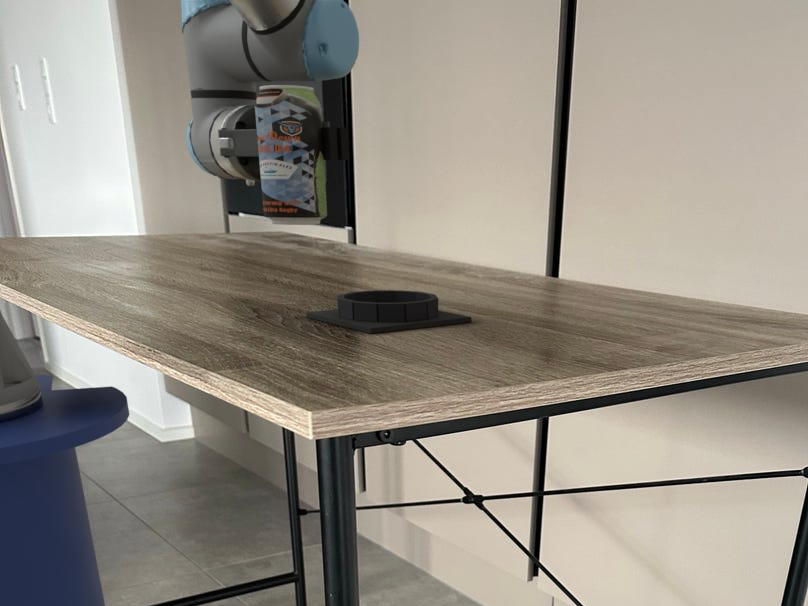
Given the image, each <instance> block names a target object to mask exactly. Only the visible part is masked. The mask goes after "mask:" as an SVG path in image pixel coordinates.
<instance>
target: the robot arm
mask: <svg viewBox="0 0 808 606" xmlns="http://www.w3.org/2000/svg"><path fill="white" fill-rule="evenodd" d="M180 7H181V22H182V24H181V28H180V29H181V33H182V36H183V43H184V52H185V58H186V66H187V74H188V82H189V90H190V105H191V113H192V114H191V116H192V119H191V120H190V121H189V124H188V126H187V129H186V138H185V139H186V145H187V150H188V153H189V155H190V157H191V159H192V160H193V162H194V163H195V164H196V165H197V166H198V167H199V168H200V169H201V170H202V171H203V172H205V173H207V174H209V175H212V176H213V177H217V178H219V179H221V180H243V181H244V180H245V184H246V185H247V186H248V187H253V186H255V182H261V175H260V163H259V151H258V139H257V127H256V115H255V101H256V99H257V97H258V96H257V86H256V85H257V83H271V82H314V83H318V82H322V81H329V80H335V79H341V78H344V77H346V76H347V75H348V74H349V73H351V71H352V70H353V69H354V67H355V64H356V61H357V59H358V56H359V51H360V32H359V27H358V23H357V19H356V17H355V15H354V12H353V11H352V9H351V7H350V6H349V4H348V3H346V1H343V0H180ZM349 139H350V138H349V127H346V126H345V127H337V126H330V121H322V143H323V159H324V161H350V142H349V141H350V140H349ZM36 375H37V374H36V373H35V372H34V370H33V368H32V366H31V364H30V363H29V361H28V359H27V357H26V356H25V353H24V352H23V350H22V349H21V346H20V344H19V343H18V341H17V339H16V337H15V336H14V334H13V331H12V330H11V328H10V326H9V324H8V323H7V321H6V319H5V318H4V316H3V313H2V311H1V310H0V423H4V422H8V421H12V420H15V419H18V418H21V417H24V416H27V415H29V414H31V413H33V412H35V411H37V410H38V409H39V408H40V407H41V406H42V405H43V400H42V395H41V390H40V386H39V385H38V380H37V378H36Z"/></svg>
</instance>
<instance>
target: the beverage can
mask: <svg viewBox="0 0 808 606" xmlns="http://www.w3.org/2000/svg"><path fill="white" fill-rule="evenodd" d="M256 97H257V99H256V101H255V115H256V127H257V139H258V151H259V163H260V175H261V181H260V184H261V196H262V197H261V198H262V209H263V216H264V217H265V218H267V219H270V220H271V223H272V224H273V225H284V226H285V225H287V226H294V225H295V226H308V225H309V226H310V225H311V226H312V225H320V224H321V220H323V219H325V218H326V217H327V216H328V207H327V188H326V169H325V168H326V167H325V160H324V159H323V143H322V122H323V119H322V118H323V117H322V105H321V102H320V100H319V99H318V98H317V95H316V94H315V88H314V87H311V86H306V85H294V84H293V85H292V84H271V85H268V84H267V85H261V86H259V93H258V95H257V96H256Z"/></svg>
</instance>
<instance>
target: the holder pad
mask: <svg viewBox="0 0 808 606" xmlns="http://www.w3.org/2000/svg"><path fill="white" fill-rule="evenodd" d="M336 297H337V309H327V310H315V311H306V318H307V319H312V320H316V321H320V322H325V323H327V324H332V325H336V326H340V327H343V328H347V329H348V328H349V329H351V330H356V331H359V332H363V333H367V334H380V333H389V332H390V333H391V332H397V331H405V330H414V329H415V330H416V329H423V328H432V327H433V328H434V327H442V326H448V325H449V326H450V325H457V324H469V323H472V316H468V315H463V314H459V313H454V312H449V311H444V310H439V297H438V296H437V295H436V294H435V293H430V292H425V291H416V290H402V289H398V290H396V289H387V290H386V289H380V290H379V289H377V290H376V289H372V290H362V291H361V290H360V291H350V292H346V293H345V292H344V293H341V294H337V296H336Z"/></svg>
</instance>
